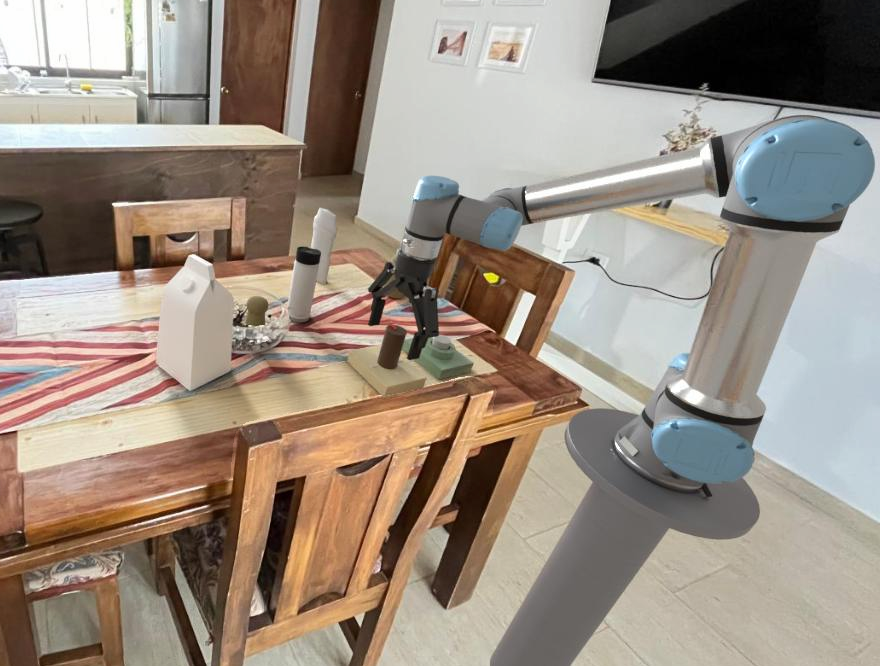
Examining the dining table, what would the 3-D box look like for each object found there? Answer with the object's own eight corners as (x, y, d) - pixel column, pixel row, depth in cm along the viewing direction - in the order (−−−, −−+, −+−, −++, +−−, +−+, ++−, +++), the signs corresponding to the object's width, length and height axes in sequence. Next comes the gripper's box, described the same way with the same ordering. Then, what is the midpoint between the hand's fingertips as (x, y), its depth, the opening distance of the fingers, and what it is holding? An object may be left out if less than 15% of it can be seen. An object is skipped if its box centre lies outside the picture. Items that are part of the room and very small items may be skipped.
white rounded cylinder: (300, 270, 163) (311, 204, 153) (311, 269, 165) (322, 203, 155) (320, 285, 155) (333, 216, 145) (331, 283, 157) (345, 215, 147)
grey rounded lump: (452, 349, 123) (454, 342, 122) (439, 351, 121) (442, 344, 120) (440, 340, 126) (442, 333, 125) (427, 342, 124) (430, 335, 123)
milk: (230, 370, 113) (242, 264, 101) (190, 391, 106) (197, 278, 94) (195, 345, 121) (203, 243, 109) (155, 363, 113) (158, 255, 101)
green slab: (470, 372, 122) (476, 356, 120) (438, 379, 118) (444, 363, 116) (432, 342, 132) (437, 327, 130) (401, 348, 128) (406, 333, 126)
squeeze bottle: (398, 287, 160) (412, 233, 151) (413, 300, 153) (429, 244, 145) (375, 289, 157) (389, 234, 149) (390, 302, 150) (405, 245, 142)
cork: (254, 347, 122) (259, 307, 117) (235, 336, 126) (240, 297, 121) (270, 338, 126) (276, 299, 121) (251, 328, 130) (256, 290, 125)
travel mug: (282, 319, 135) (293, 249, 126) (289, 308, 141) (300, 241, 132) (305, 325, 134) (318, 255, 124) (311, 314, 139) (324, 246, 130)
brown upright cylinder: (401, 367, 116) (411, 332, 111) (385, 370, 114) (395, 335, 110) (388, 356, 119) (398, 322, 115) (373, 359, 117) (382, 325, 113)
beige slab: (423, 388, 115) (427, 377, 113) (384, 398, 110) (387, 386, 109) (384, 353, 126) (386, 342, 124) (346, 360, 121) (349, 349, 120)
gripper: (366, 231, 112) (346, 314, 122) (448, 283, 93) (417, 377, 102) (393, 229, 115) (371, 310, 125) (478, 279, 96) (445, 371, 106)
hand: (392, 340), depth 114 cm, fingers open, 13 cm apart
